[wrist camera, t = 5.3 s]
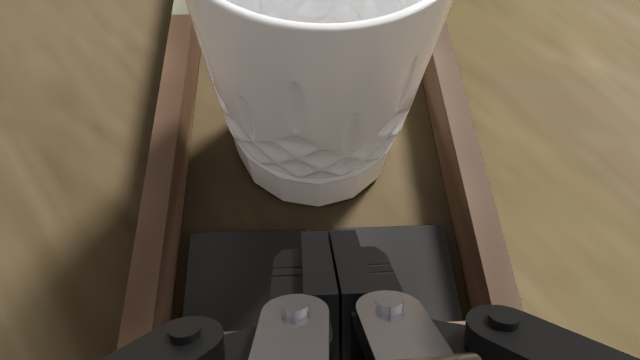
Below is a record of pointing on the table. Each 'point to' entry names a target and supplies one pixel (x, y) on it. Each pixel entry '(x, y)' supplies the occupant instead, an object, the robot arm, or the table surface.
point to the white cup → (316, 85)
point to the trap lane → (262, 246)
